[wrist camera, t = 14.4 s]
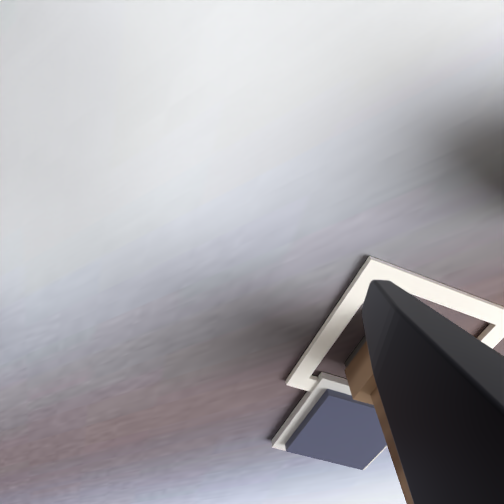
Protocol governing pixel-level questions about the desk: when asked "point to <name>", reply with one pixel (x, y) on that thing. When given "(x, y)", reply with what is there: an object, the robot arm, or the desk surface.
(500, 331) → the marked square
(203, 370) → the desk surface
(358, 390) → the stamp
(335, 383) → the ink pad
